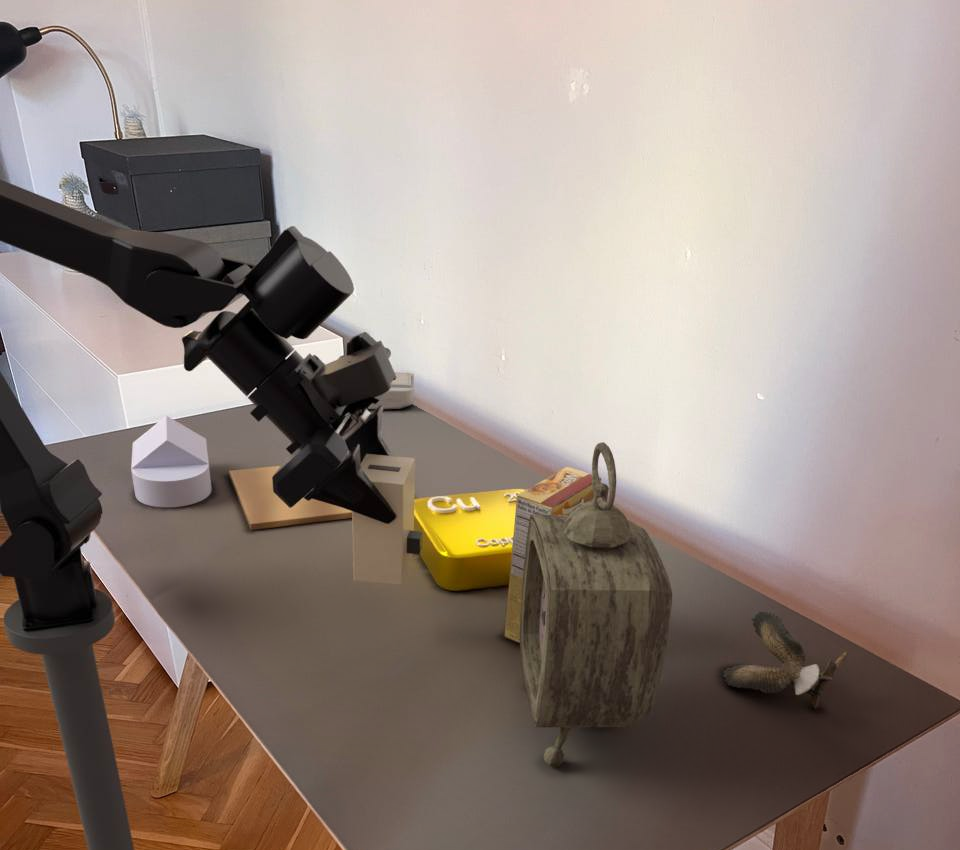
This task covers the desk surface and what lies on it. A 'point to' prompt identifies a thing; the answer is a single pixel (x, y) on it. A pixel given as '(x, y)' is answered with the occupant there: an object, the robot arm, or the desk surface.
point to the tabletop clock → (592, 616)
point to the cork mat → (277, 502)
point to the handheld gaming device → (398, 393)
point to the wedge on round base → (170, 466)
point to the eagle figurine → (791, 660)
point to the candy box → (540, 499)
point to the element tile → (467, 538)
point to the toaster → (382, 545)
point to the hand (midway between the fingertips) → (399, 505)
